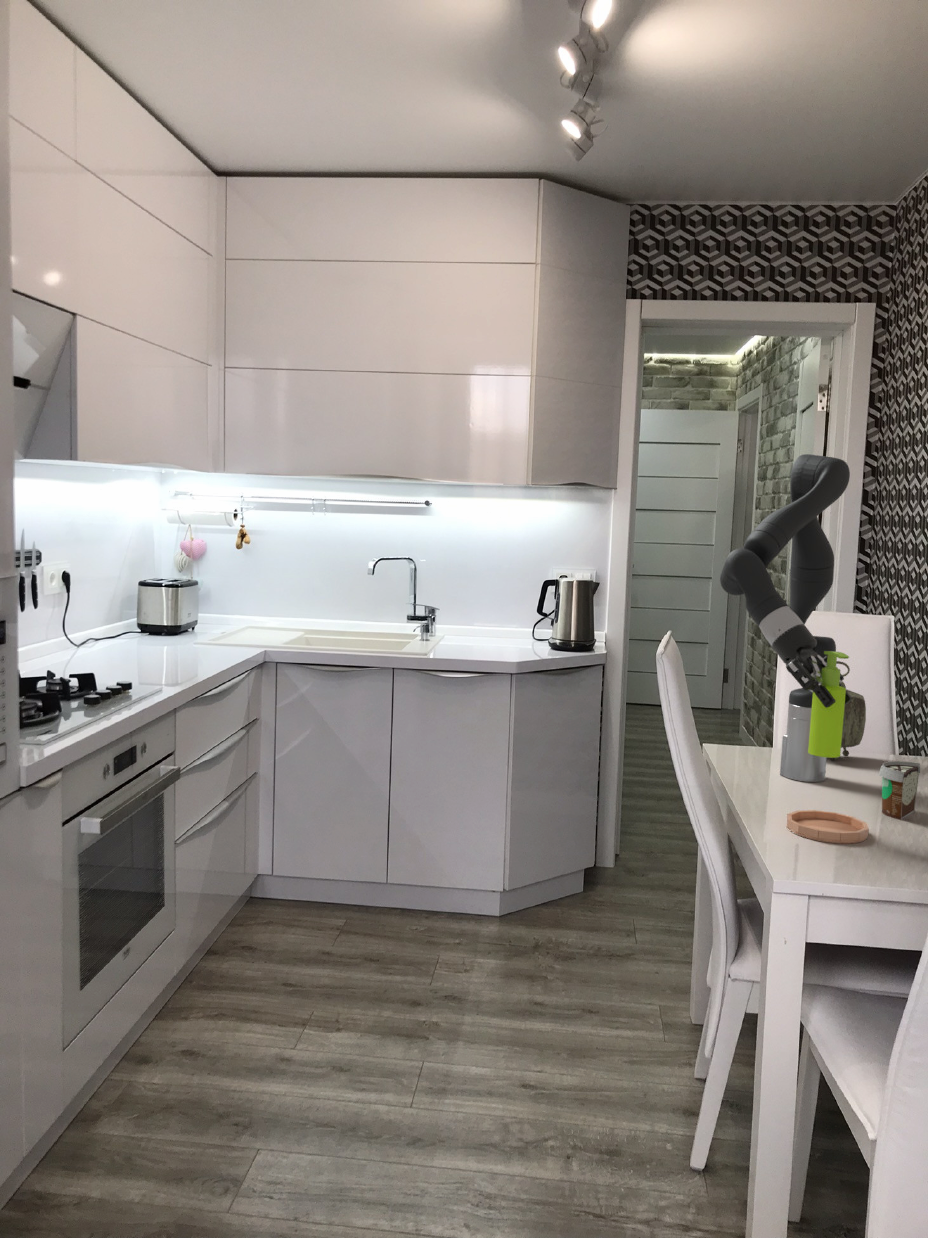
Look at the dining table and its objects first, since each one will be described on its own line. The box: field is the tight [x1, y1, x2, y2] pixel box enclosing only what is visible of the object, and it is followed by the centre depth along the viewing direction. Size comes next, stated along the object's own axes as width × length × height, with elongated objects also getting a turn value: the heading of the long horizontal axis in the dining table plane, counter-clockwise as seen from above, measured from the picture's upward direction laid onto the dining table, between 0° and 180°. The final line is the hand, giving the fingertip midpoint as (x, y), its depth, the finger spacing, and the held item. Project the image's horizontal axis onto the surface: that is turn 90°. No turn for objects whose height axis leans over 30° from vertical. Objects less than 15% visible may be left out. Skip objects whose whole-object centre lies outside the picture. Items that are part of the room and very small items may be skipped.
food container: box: [878, 760, 921, 821], centre depth 213 cm, size 12×6×10 cm, turn 141°
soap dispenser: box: [808, 651, 850, 759], centre depth 197 cm, size 6×7×20 cm
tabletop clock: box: [830, 660, 867, 762], centre depth 260 cm, size 14×9×25 cm, turn 94°
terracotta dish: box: [786, 809, 870, 844], centre depth 197 cm, size 15×15×2 cm
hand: (839, 703), depth 196 cm, fingers closed on soap dispenser, 6 cm apart
